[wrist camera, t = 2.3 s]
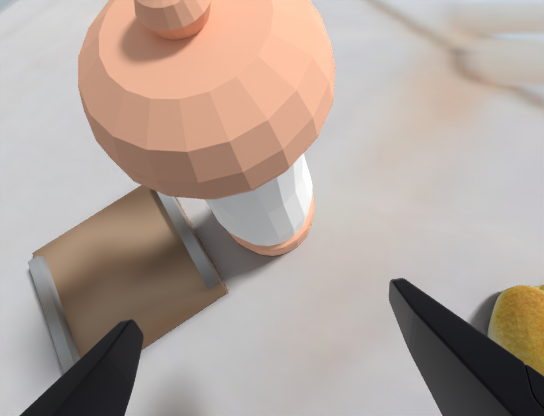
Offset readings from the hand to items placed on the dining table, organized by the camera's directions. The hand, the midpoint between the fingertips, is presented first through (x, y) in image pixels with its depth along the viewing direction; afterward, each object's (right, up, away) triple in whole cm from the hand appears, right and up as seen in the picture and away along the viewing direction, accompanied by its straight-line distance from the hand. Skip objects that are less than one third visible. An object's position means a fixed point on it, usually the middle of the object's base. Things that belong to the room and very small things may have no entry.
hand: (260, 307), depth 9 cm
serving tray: (-13, -2, +14) cm, 19 cm away
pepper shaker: (0, +3, +14) cm, 15 cm away
